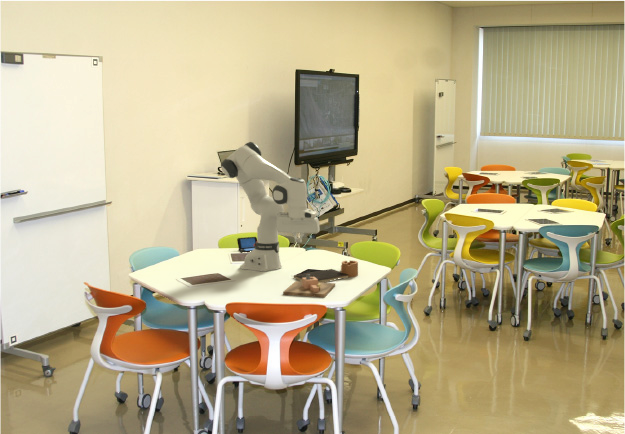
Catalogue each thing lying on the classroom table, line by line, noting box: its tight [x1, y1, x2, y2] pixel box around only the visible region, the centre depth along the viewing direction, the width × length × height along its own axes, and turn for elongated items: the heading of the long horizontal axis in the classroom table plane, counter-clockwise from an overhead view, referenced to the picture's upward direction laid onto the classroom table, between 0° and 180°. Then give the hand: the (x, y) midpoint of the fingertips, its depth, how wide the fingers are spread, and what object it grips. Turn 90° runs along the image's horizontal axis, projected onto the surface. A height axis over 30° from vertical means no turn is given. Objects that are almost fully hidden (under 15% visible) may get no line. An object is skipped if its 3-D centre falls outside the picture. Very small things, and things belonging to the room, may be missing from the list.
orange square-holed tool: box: [302, 277, 319, 292], centre depth 333 cm, size 6×13×4 cm, turn 18°
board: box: [282, 280, 336, 298], centre depth 336 cm, size 20×20×2 cm
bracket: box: [340, 260, 359, 278], centre depth 369 cm, size 18×8×7 cm, turn 0°
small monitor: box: [236, 236, 258, 253], centre depth 428 cm, size 12×11×7 cm
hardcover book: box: [293, 268, 349, 283], centre depth 359 cm, size 16×23×2 cm
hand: (298, 242), depth 329 cm, fingers closed
